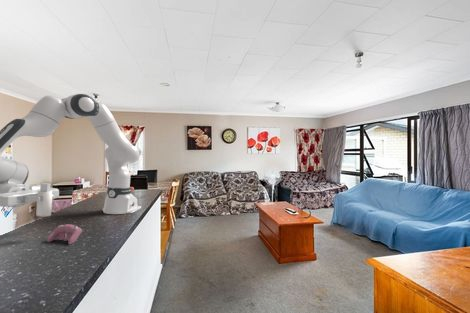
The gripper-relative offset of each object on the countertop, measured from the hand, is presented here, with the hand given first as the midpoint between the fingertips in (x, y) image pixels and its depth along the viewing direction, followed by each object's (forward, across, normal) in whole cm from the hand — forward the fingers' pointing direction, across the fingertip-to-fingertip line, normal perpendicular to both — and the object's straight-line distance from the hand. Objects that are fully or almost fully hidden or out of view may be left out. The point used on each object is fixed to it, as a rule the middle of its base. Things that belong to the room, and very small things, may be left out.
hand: (46, 198), depth 84 cm
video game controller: (+9, 0, +15) cm, 18 cm away
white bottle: (-1, 0, +6) cm, 7 cm away
